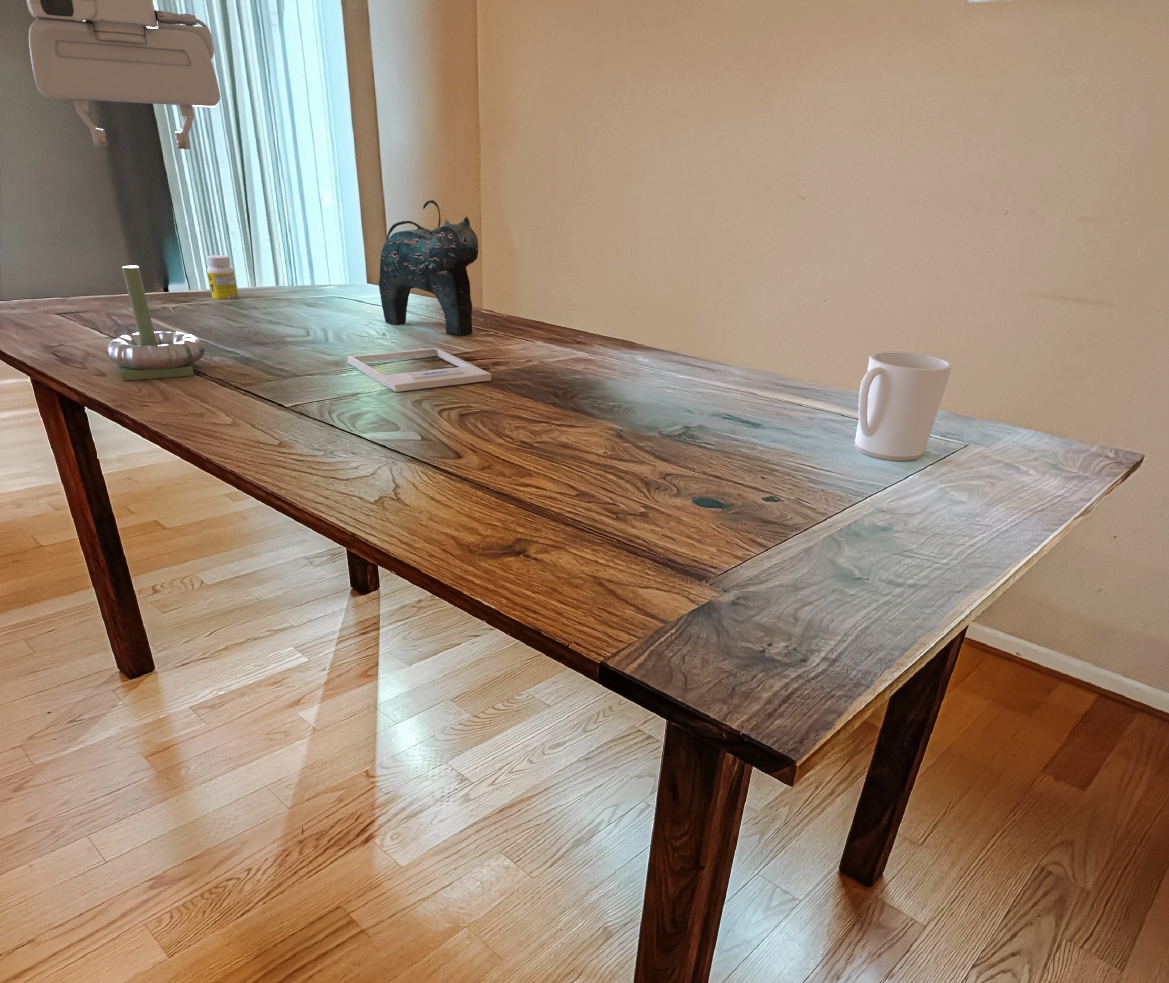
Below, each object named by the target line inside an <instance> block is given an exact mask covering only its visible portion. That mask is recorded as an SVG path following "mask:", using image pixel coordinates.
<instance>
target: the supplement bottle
mask: <svg viewBox="0 0 1169 983" xmlns="http://www.w3.org/2000/svg"><path fill="white" fill-rule="evenodd" d="M205 259H206V264H207V266H208V267H207V269H206V274H207V279H208V283H209V289H210V293H211V298H212V299H214V300H234V299H238V298H239V292H238V286H237V282H236V276H235V271H234V269H233V268H232V266H231V260H230V256H229V255H223V254H212V255H211V254H210V255H207V256H205Z"/></svg>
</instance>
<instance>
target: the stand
mask: <svg viewBox="0 0 1169 983" xmlns="http://www.w3.org/2000/svg"><path fill="white" fill-rule="evenodd" d="M121 270H122V274H123V278H124V282H125V285H126V289H127V294H128V297H129V298H128V299H129V302H130V306H131V310H132V314H133V318H134V322H135V325H136V330H137V333H138V334H139V338H140V342H141V346H153V345H157V341H156V337H155V333H154V332H155V329H154V325H153V321H152V317H151V312H150V308H149V305H148V301H147V296H146V292H145V288H144V282H143V279H142V275H141V271H140V267H139V266H138V265H123V266H122V267H121ZM117 367H118V371H119V375H120V378H121V381H122V382H128V381H129V382H130V381H141V380H154V379H156V380H157V379H168V378H181V377H192V376H193V377H194V376H195V373H194V368H193V366H192V364H190V365H186V366H181V367H177V368H169V369H155V370H148V369H131V368H127V367H123V366H119V365H117Z"/></svg>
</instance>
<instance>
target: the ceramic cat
mask: <svg viewBox="0 0 1169 983" xmlns="http://www.w3.org/2000/svg"><path fill="white" fill-rule="evenodd" d="M429 204H433V205H434V206H435V207H436V209H437V213H438V224H437V227H436V228H434V229H433V230H431V229H429V228H425V227H423V226H421V225H420V224H418V223H417V222H414V221H412V220H401V221H398V222H396V223H393V224H392V226H390V228H389V230H388V232H387V235H386V240H385V243H384V244H383V246H382V249H381V253H380V260H379V278H378V291H379V295H380V304H381V308H382V312H383V317H384V321H385V323H386V324H390V325H395V326H399V325H404V324H406V323H407V313H408V312H407V310H408V305H409V304H408V303H409V296H410V293H411V290H412V289H417V290H421V291H424V292H428V293H431V294H433V295H434V296H435V297H436V299H437V301H438V304H439V305H440V307H441V310H442V312H443V315H444V320H445V321H444V322H445V334H446V335H455V336H459V337H463V336H467V335H471V334H473V318H472V317H473V316H472V315H473V301H472V298H471V296H472V295H471V282H470V278H469V274H468V270H467V267H468V266H470V265H472V264H473V263H474V262H475V261H476V260H478V256H479V239H478V235H477V233H475V231H474V230H473V229H472V226H471V222H470V219H469V217H468V216H465V217H464V218H463V219H462V220H461V221H460V222H459V223H456V224H454V223H450V222H449V220H448V219H445V221H444V223H443V225H441V212H440V211H441V210H440V207H439V206H440V205H439V204H438V203H437V202H436V201H435V200H433V199H430V200H426V202H425V203H424V204H423V206H422V209H423V210H425V209H426V207H427V206H428V205H429ZM406 224H410V225H413V226H415V227H416V229H406V230H400V231H399V230H398V231H395V232H394V233H392V232H393V231H394V230H395V228H396V227H398V226H401V225H402V226H403V225H406ZM391 233H392V234H391Z"/></svg>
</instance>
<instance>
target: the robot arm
mask: <svg viewBox="0 0 1169 983" xmlns="http://www.w3.org/2000/svg"><path fill="white" fill-rule="evenodd" d="M25 2H26V5H27V9H28V12H29V13H30V15H31V16H32V17H33V19H35V20H34V21H33V22H31V24H30V26H29V29H28V47H29V55H30V63H31V68H32V73H33V78H34V83H35V86H36V90H37V91H38V92H39V93H40V94H41V95H42V96H44V97H45V98H47V99H60V100H62V99H63V100H72V101H73V104H74V107H75V111H76V113H77V114H78V115H79V117H80V118H81V119H82V121H83V122H84V123H85V125H86V126H87V127H88V129H90V132H91V133H90V134H91V136H92V141H93V144H94V147H109V142H108V139H107V138H106V136H107V134H106V130H105V129H104V128H97V127H96V125H95V124H94V123H93V121H92V119H90V117H89V116H88V114H87V113H86V112H90V108H89V104H88V103H89V102H88V101H97V102H98V101H99V102H116V103H132V104H133V103H134V104H135V103H136V104H151V105H152V104H154V105H169V106H171V105H172V106H178V111H179V116H181V117H184V119H183V123H182V126H181V129H180V131H174V132H173V135H174V139H175V140H176V141H175V145H176V149H179V150H191V142H190V137H189V133H190V131H191V127H192V126H193V121H194V120H195V119H194V118H195V114H194V109H193V107H203V108H216V107H217V106H218V105H219V103H220V101H221V92H220V88H219V83H218V78H217V75H216V71H215V68H214V64H213V62H212V59H213V57H214V54H215V49H214V48H215V47H214V41H213V37H212V36H213V35H212V33H211V30H210V28H209V27H208V26H207V24H205V22H203V21H202V20H201V19H198V18H196V15H195V14H191V13H183V14H182V13H177V12H176V13H174V12H171V11H164V10H156V9H155V6H154V1H153V0H26V1H25ZM197 25H200V26H197Z"/></svg>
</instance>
